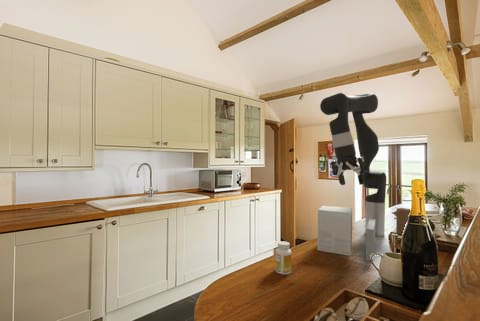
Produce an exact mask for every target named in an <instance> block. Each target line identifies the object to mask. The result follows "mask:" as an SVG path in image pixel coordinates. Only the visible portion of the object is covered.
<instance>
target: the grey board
mask: <svg viewBox="0 0 480 321" xmlns="http://www.w3.org/2000/svg"><path fill="white" fill-rule="evenodd" d="M375 227H376V219H371V218H370V219H369V222H368V225H367V228H366V233H365V235H366V237H365V242H366V243H365V260H367V261H371V260H370V255H371V254H372V253H374V254H375V249H376V236H375Z"/></svg>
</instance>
